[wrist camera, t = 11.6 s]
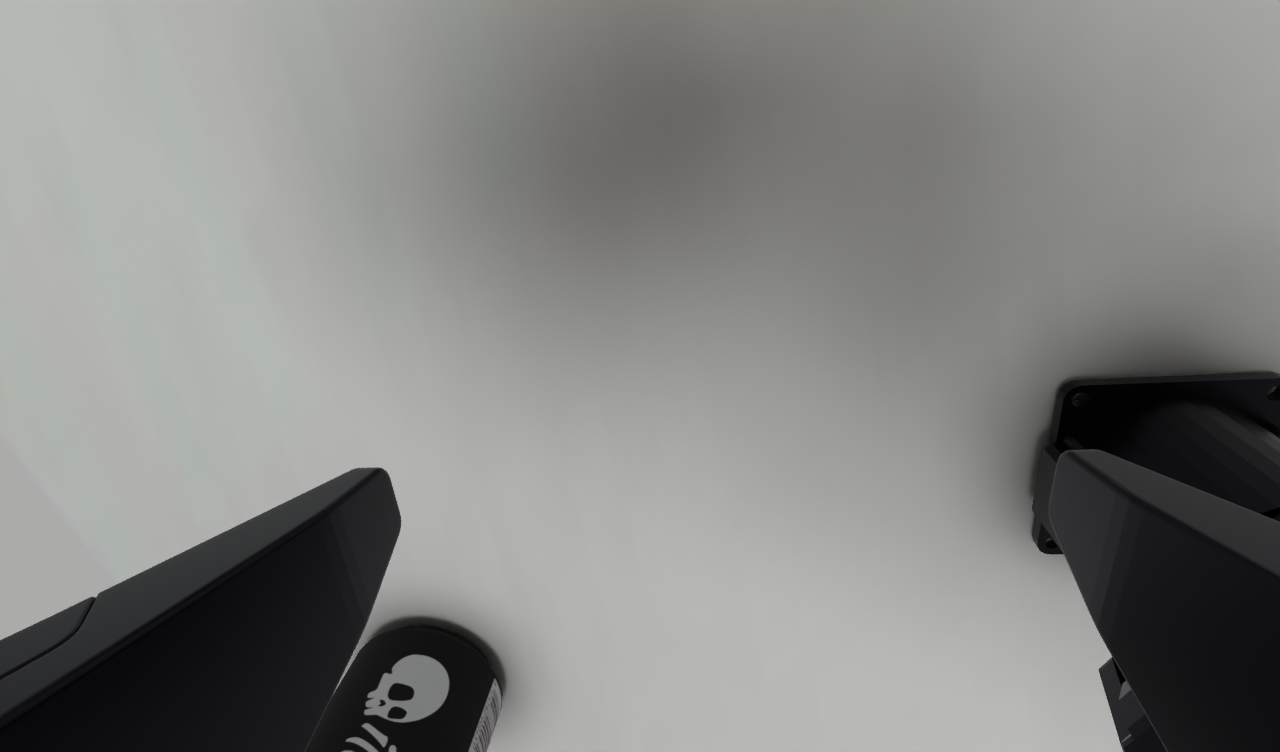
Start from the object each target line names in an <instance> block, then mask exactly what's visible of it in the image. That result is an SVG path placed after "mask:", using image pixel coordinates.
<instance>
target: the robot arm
mask: <svg viewBox="0 0 1280 752" xmlns="http://www.w3.org/2000/svg"><path fill="white" fill-rule="evenodd" d="M1275 386H1276V389H1275V390H1274V391H1273V392H1272V393H1270V394H1267V393H1268V391H1269V390H1270V389H1271V388H1273V387H1275ZM1078 393H1083V395H1082V397H1081V398H1080V399H1079V400H1078V401H1074V402H1072V399H1073V397H1074V396H1075V395H1076V394H1078ZM1032 510H1033V512H1034V513H1035V515H1036V519H1035V525H1034V530H1033V541H1034V542H1035V544H1036V545H1037V547H1038V548H1039V550H1040V551H1041V552H1043V553H1045V554H1064V555H1065V557H1066V560H1067V562H1068V564H1069V566H1070V569H1071V571H1072V573H1073V576H1074V578H1075V580H1076V583H1077V585H1078V587H1079V590H1080V592H1081V594H1082V597H1083V599H1084V601H1085V604H1086V606H1087V608H1088V611H1089V613H1090V615H1091V617H1092V619H1093V621H1094V623H1095V625H1096V628H1097V629H1098V631H1099V633H1100V635H1101V637H1102V639H1103V641H1104V642H1105V644H1106V646H1107V648H1108V650H1109V651H1110V653H1111V655H1112V658H1111V659H1109V660H1108V661H1107V662H1106V663H1105V664H1104V665H1103V666H1102V667H1101V668H1099V673H1100V676H1101V680H1102V683H1103V686H1104V690H1105V693H1106V696H1107V700H1108V703H1109V706H1110V710H1111V713H1112V716H1113V720H1114V723H1115V726H1116V730H1117V733H1118V736H1119V740H1120V743H1121V746H1122V750H1123V752H1280V374H1278V373H1249V374H1222V375H1196V376H1170V377H1143V378H1117V379H1091V380H1075V381H1070V382H1068V383H1066V384H1065V385H1064V386H1063V387H1062V388H1061V389H1060V390H1059V393H1058V395H1057V401H1056V406H1055V412H1054V418H1053V423H1052V429H1051V435H1050V440H1049V442H1048V443H1047V444H1046V445H1045V446H1044V448H1043V449H1042V454H1041V459H1040V465H1039V471H1038V477H1037V482H1036V488H1035V494H1034V500H1033V505H1032ZM400 528H401V516H400V512H399V508H398V504H397V501H396V497H395V494H394V490H393V487H392V483H391V480H390V477H389V474H388V473H387V471H385V470H384V469H382V468H356V469H353V470H351V471H349V472H347V473H344V474H342V475H340V476H338V477H336V478H334V479H332V480H330V481H328V482H326V483H324V484H322V485H320V486H318V487H316V488H314V489H312V490H310V491H308V492H306V493H303V494H301V495H299V496H297V497H295V498H293V499H291V500H289V501H287V502H285V503H283V504H281V505H279V506H277V507H275V508H273V509H271V510H269V511H267V512H264V513H262V514H260V515H258V516H256V517H254V518H252V519H250V520H248V521H246V522H244V523H242V524H240V525H238V526H236V527H234V528H232V529H230V530H228V531H225V532H223V533H221V534H219V535H217V536H215V537H213V538H211V539H209V540H207V541H205V542H203V543H201V544H199V545H197V546H195V547H193V548H191V549H189V550H187V551H184V552H182V553H180V554H178V555H176V556H174V557H172V558H170V559H168V560H166V561H164V562H162V563H160V564H158V565H156V566H154V567H152V568H150V569H148V570H145V571H143V572H141V573H139V574H137V575H135V576H133V577H131V578H129V579H127V580H125V581H123V582H121V583H119V584H117V585H115V586H113V587H111V588H109V589H107V590H104V591H103V592H100V593H99V594H98V596H97V597H96V598H95V597H90V598H88V599H86V600H84V601H82V602H80V603H78V604H76V605H74V606H71V607H69V608H68V609H65V610H63V611H61V612H59V613H57V614H55V615H53V616H51V617H49V618H46V619H44V620H42V621H40V622H38V623H36V624H34V625H32V626H30V627H27V628H25V629H23V630H21V631H19V632H17V633H15V634H13V635H11V636H8V637H6V638H4V639H2V640H0V752H305V751H306V749H307V747H308V745H309V743H310V741H311V739H312V737H313V734H314V732H315V730H316V728H317V726H318V724H319V722H320V720H321V718H322V716H323V714H324V712H325V710H326V708H327V706H328V704H329V701H330V699H331V697H332V695H333V693H334V691H335V689H336V687H337V685H338V683H339V681H340V679H341V677H342V675H343V673H344V670H345V668H346V666H347V664H348V662H349V660H350V658H351V656H352V654H353V652H354V650H355V648H356V646H357V644H358V642H359V639H360V637H361V635H362V633H363V630H364V628H365V626H366V624H367V621H368V619H369V616H370V614H371V611H372V609H373V606H374V603H375V600H376V597H377V595H378V592H379V589H380V586H381V583H382V581H383V578H384V575H385V572H386V569H387V567H388V564H389V561H390V558H391V555H392V553H393V550H394V547H395V544H396V541H397V539H398V536H399V533H400ZM1050 537H1052V538H1053V539H1052V540H1051V541H1046V540H1047V539H1048V538H1050Z"/></svg>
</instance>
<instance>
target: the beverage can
mask: <svg viewBox="0 0 1280 752" xmlns="http://www.w3.org/2000/svg"><path fill="white" fill-rule="evenodd" d="M501 705H502V691H501V686H500V683H499V680H498V678H497V676H496V674H495V672H494V671H493V669H492V666H491V664H490V663H489V661H488V659H487V658H486V656H485V655H484V654H483V653H482V652H481V650H479V649H478V648H477V647H476V646H475V645H474V644H472V643H471V642H470V641H468V640H467V639H465V638H464V637H462V636H460V635H458V634H456V633H454V632H451V631H448V630H445V629H442V628H438V627H432V626H409V627H404V628H400V629H397V630H394V631H389V632H386V633H383V634H381V635H379V636H377V637H375V638H373V639H372V640H371V641H369V642H368V643H367V644H366V645H365V646H364V647H363V648H362V649H361V650H360V651H359V653H358V655H357V656H356V658H355V659H354V661H353V663H352V664H351V666H350V668H349V669H348V671H347V673H346V674H345V676H344V678H343V679H342V681H341V683H340V684H339V686H338V688H337V689H336V691H335V693H334V694H333V696H332V697H331V699H330V701H329V704H328V706H327V708H326V710H325V712H324V714H323V716H322V718H321V720H320V722H319V724H318V726H317V728H316V730H315V732H314V734H313V737H312V739H311V741H310V743H309V745H308V747H307V749H306V751H305V752H487V749H488V746H489V743H490V740H491V737H492V734H493V731H494V728H495V725H496V722H497V719H498V716H499V713H500V710H501Z"/></svg>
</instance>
